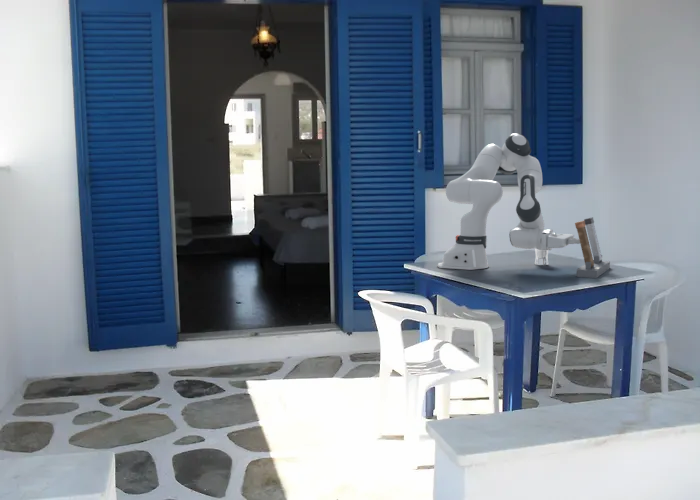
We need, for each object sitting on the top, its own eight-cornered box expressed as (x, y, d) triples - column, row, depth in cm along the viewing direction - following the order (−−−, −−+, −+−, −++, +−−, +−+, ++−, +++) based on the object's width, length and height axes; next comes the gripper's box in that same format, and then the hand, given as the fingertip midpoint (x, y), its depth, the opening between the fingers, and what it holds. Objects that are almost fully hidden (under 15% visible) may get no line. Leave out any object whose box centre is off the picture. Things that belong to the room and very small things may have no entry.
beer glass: (549, 265, 336) (550, 232, 334) (533, 265, 337) (534, 232, 335) (548, 263, 343) (549, 231, 341) (533, 263, 344) (534, 230, 342)
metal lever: (594, 263, 323) (583, 219, 323) (596, 261, 328) (586, 218, 328) (600, 261, 322) (590, 218, 322) (603, 260, 326) (592, 217, 326)
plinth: (576, 276, 306) (576, 262, 305) (591, 266, 332) (591, 253, 332) (596, 278, 302) (597, 263, 302) (609, 268, 328) (610, 254, 328)
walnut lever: (585, 268, 307) (574, 223, 307) (588, 267, 312) (577, 221, 312) (592, 267, 306) (581, 221, 306) (595, 265, 311) (584, 220, 311)
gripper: (552, 244, 326) (585, 246, 319) (541, 249, 308) (575, 251, 302) (553, 230, 325) (586, 231, 319) (541, 234, 307) (575, 236, 301)
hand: (580, 241), depth 310 cm, fingers closed
